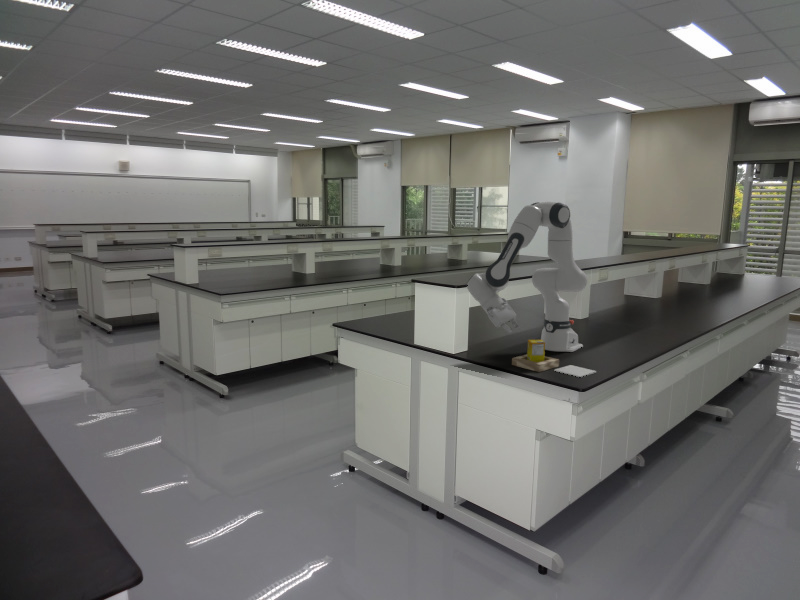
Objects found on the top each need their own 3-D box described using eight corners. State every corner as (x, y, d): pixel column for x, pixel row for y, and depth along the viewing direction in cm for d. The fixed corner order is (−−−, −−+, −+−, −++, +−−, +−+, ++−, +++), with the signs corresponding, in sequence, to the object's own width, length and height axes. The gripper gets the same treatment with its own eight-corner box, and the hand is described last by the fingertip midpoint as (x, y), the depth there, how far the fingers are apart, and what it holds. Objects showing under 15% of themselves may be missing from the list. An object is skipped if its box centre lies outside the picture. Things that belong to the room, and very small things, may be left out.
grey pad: (570, 366, 227) (570, 364, 227) (596, 372, 218) (596, 371, 218) (554, 371, 220) (554, 369, 220) (580, 377, 211) (580, 376, 211)
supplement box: (540, 363, 231) (541, 339, 230) (544, 367, 225) (545, 342, 224) (526, 363, 231) (527, 339, 229) (530, 367, 225) (531, 342, 223)
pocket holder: (531, 359, 238) (532, 353, 237) (558, 366, 227) (559, 359, 227) (511, 364, 229) (512, 358, 228) (539, 372, 218) (539, 364, 218)
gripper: (490, 304, 224) (512, 329, 220) (506, 298, 241) (526, 322, 238) (480, 313, 227) (501, 339, 223) (496, 307, 244) (516, 330, 241)
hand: (514, 330), depth 231 cm, fingers open, 8 cm apart
